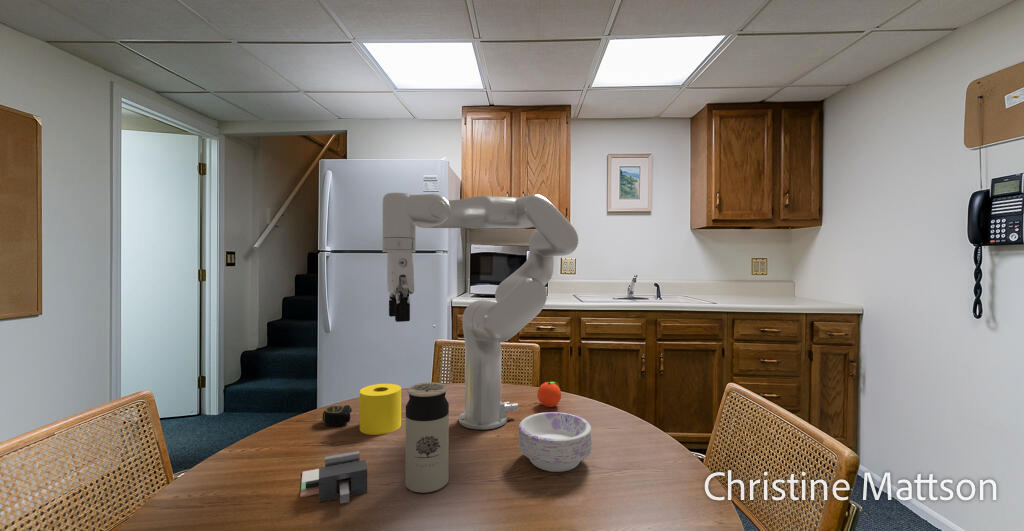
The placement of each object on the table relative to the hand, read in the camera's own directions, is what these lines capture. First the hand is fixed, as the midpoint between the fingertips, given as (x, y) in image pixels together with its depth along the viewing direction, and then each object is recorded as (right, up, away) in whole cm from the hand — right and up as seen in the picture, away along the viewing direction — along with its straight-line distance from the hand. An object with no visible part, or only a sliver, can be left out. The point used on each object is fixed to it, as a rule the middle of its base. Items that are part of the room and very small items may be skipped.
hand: (398, 318), depth 99 cm
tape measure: (-18, -29, +10) cm, 35 cm away
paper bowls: (+36, -29, -11) cm, 47 cm away
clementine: (+38, -29, +23) cm, 53 cm away
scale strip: (-11, -28, -20) cm, 36 cm away
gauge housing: (-4, -29, -23) cm, 37 cm away
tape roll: (-7, -29, +7) cm, 30 cm away
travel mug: (+11, -29, -20) cm, 36 cm away
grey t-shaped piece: (-5, -28, -25) cm, 38 cm away
